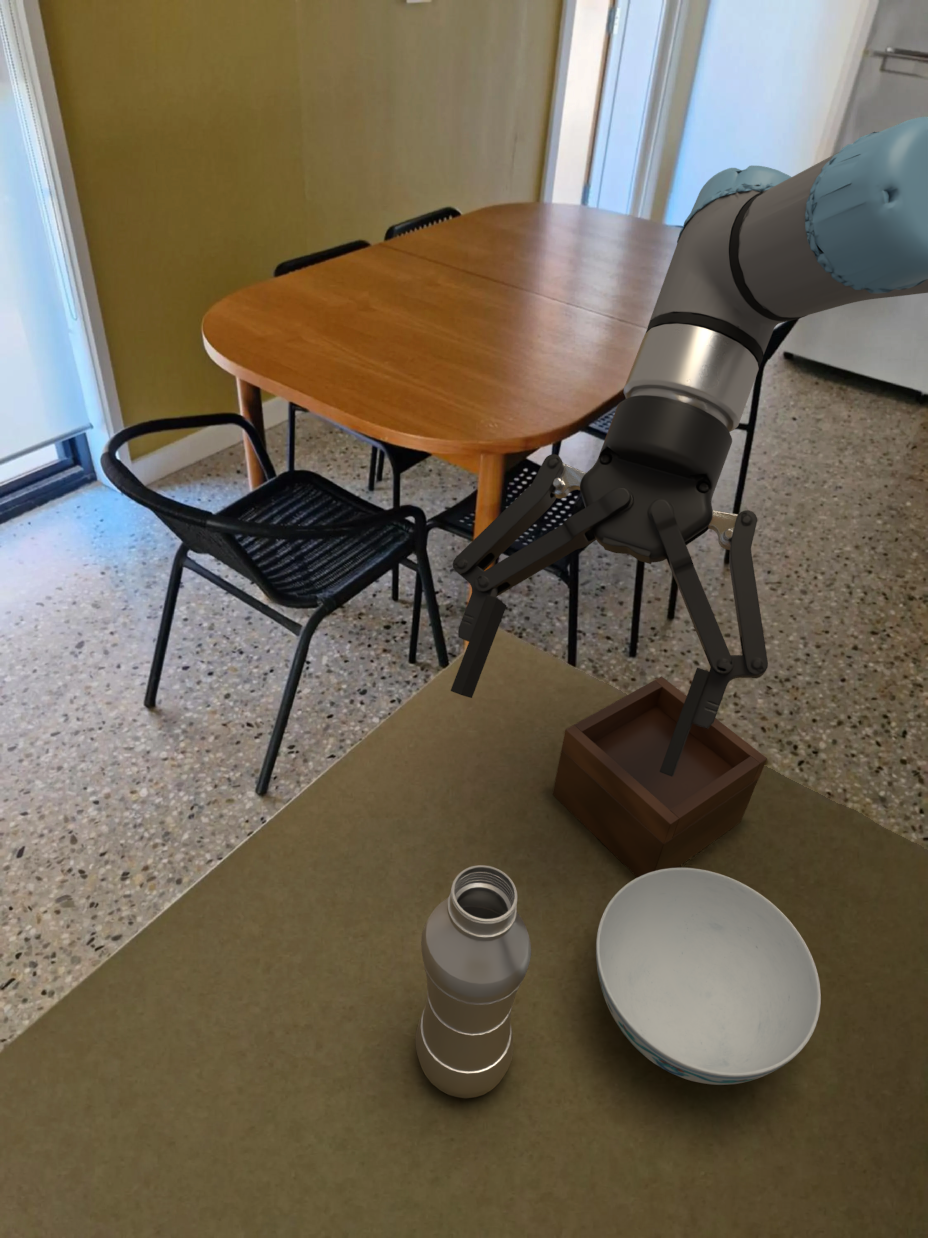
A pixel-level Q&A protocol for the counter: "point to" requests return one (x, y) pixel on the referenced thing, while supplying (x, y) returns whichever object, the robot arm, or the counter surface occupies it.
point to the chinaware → (706, 976)
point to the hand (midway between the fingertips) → (559, 733)
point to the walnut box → (654, 779)
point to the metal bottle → (471, 983)
